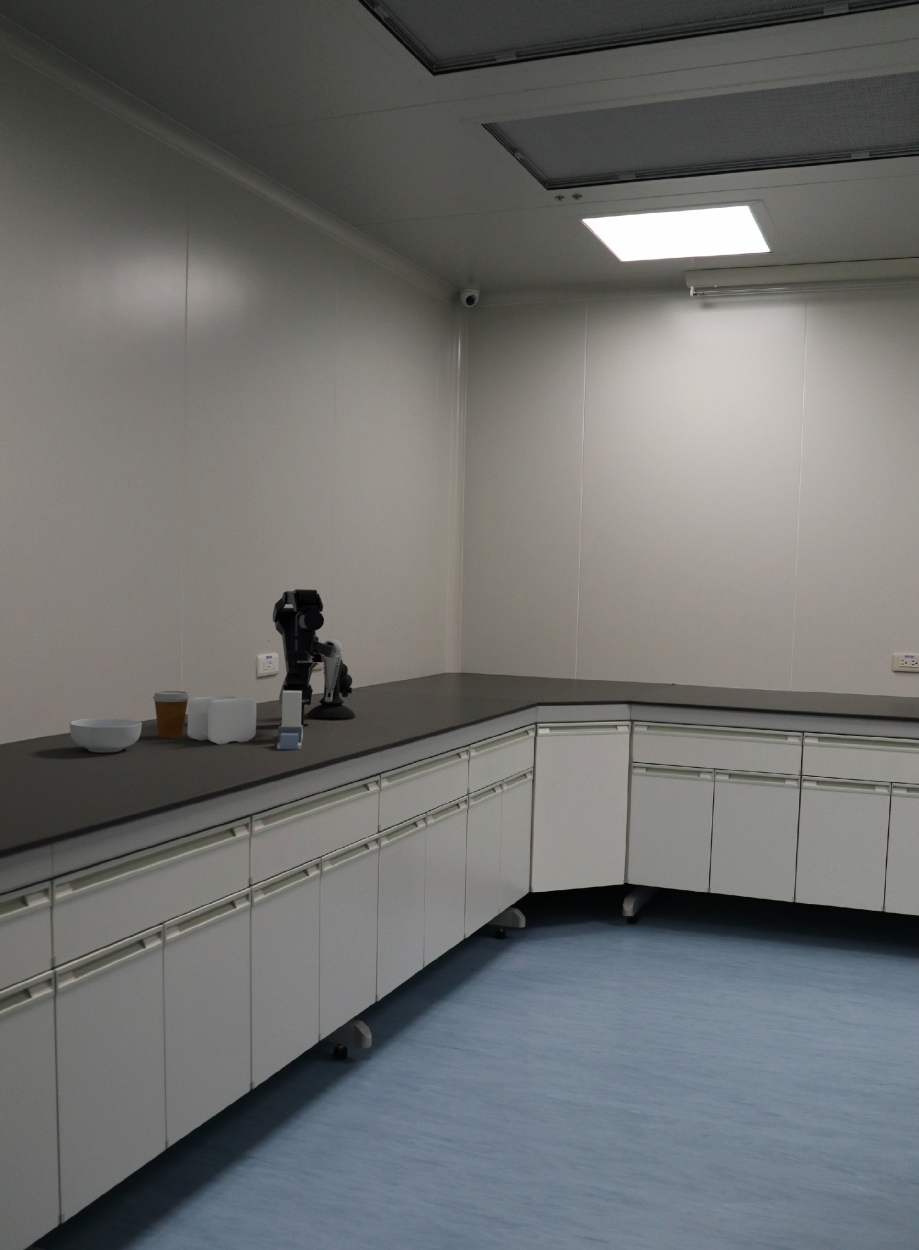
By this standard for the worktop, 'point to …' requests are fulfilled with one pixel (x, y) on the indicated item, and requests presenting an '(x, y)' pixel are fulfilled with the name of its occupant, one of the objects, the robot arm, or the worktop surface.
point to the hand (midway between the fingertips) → (306, 687)
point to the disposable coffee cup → (170, 712)
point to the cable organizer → (222, 719)
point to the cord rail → (290, 737)
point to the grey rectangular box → (291, 708)
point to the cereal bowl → (105, 733)
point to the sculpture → (334, 689)
